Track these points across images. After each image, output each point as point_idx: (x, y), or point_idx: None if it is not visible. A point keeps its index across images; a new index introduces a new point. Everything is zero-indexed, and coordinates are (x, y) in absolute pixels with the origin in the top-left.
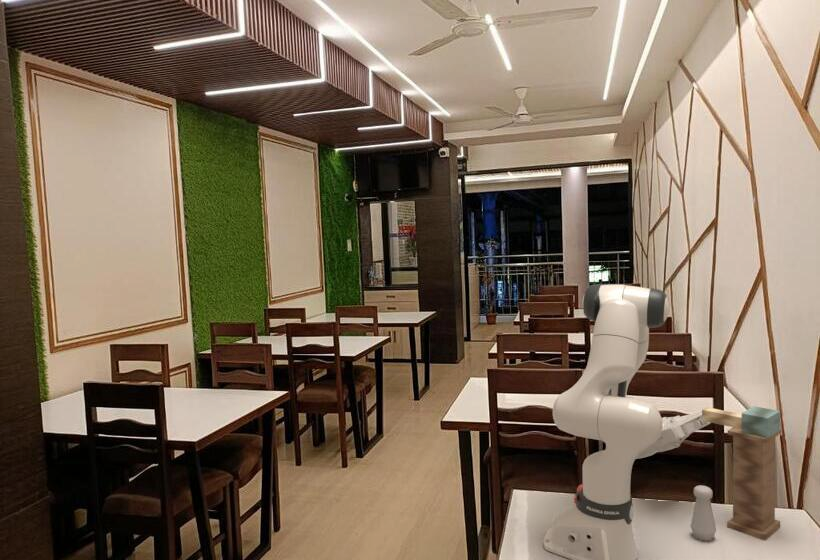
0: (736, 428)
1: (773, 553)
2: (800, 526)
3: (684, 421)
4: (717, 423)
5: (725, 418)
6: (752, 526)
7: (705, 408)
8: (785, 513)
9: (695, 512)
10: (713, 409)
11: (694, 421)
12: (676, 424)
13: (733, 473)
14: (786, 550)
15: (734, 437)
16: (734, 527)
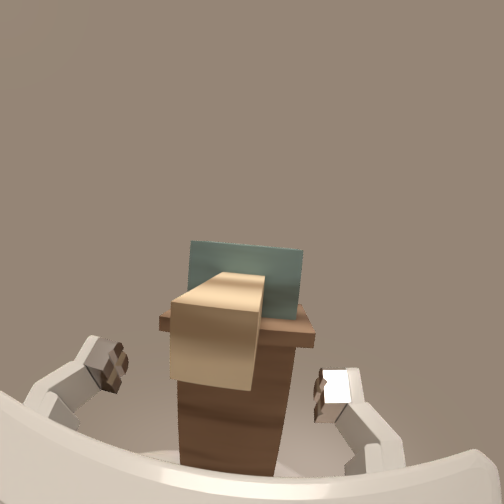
0: (265, 325)
1: (303, 477)
2: (171, 462)
3: (316, 479)
4: (256, 350)
5: (261, 305)
6: None
7: (210, 305)
8: None
9: None
10: (206, 294)
11: (331, 400)
12: (433, 476)
13: (277, 455)
14: (277, 469)
15: (294, 351)
16: None
